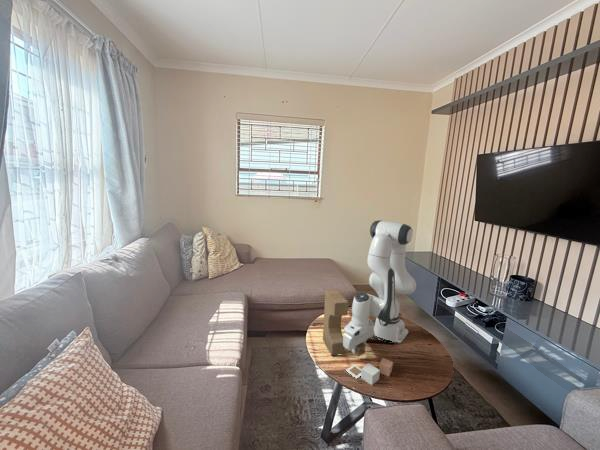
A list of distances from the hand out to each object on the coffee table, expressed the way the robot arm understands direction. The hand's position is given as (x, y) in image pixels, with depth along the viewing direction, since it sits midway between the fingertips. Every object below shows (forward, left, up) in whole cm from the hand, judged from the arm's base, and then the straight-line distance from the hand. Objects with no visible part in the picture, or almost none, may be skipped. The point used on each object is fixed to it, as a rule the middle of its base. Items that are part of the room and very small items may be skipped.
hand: (358, 349), depth 140 cm
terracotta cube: (-4, +14, -6) cm, 16 cm away
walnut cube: (0, 0, -2) cm, 2 cm away
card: (+8, +5, -6) cm, 11 cm away
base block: (+6, +12, -6) cm, 15 cm away
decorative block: (+2, -15, -6) cm, 16 cm away
